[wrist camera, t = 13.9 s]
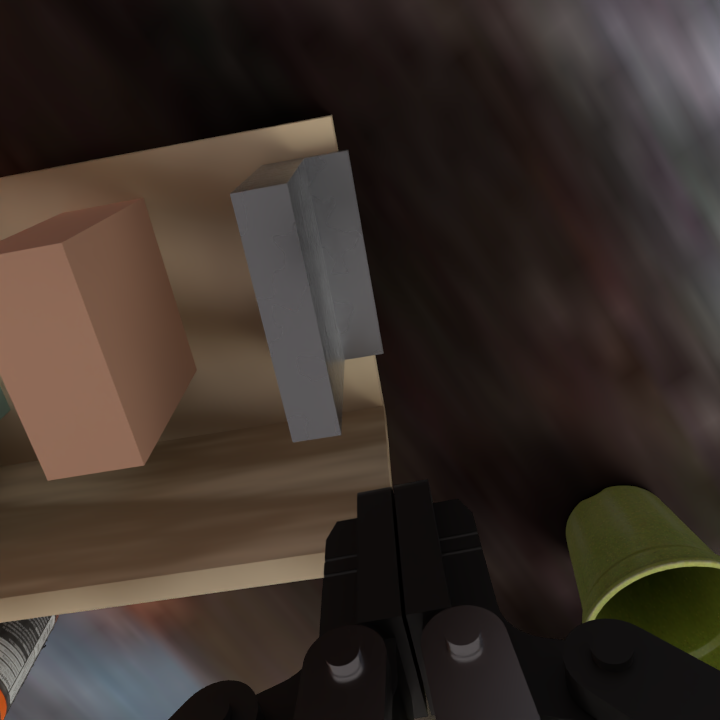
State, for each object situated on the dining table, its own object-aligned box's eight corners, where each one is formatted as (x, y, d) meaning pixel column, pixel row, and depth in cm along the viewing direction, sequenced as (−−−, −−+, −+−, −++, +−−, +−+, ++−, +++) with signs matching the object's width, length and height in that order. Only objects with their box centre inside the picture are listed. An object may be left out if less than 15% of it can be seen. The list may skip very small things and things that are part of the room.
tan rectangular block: (143, 197, 30) (61, 242, 22) (196, 370, 33) (144, 465, 25) (61, 212, 30) (-50, 263, 22) (123, 382, 34) (47, 480, 25)
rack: (386, 414, 36) (399, 566, 25) (-34, 480, 37) (-201, 650, 26) (331, 114, 29) (316, 136, 18) (-172, 209, 31) (-468, 282, 20)
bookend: (382, 349, 33) (390, 427, 25) (307, 362, 33) (292, 442, 26) (347, 149, 29) (344, 172, 22) (261, 165, 29) (229, 193, 22)
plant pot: (521, 577, 41) (561, 698, 33) (556, 451, 37) (611, 554, 29) (663, 590, 41) (737, 712, 33) (713, 467, 37) (809, 571, 29)
